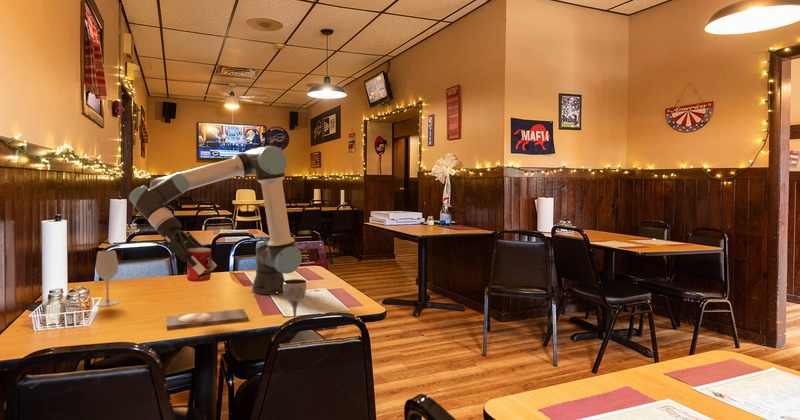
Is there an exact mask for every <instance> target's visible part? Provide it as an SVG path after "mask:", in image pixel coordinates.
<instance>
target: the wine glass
mask: <svg viewBox="0 0 800 420" xmlns="http://www.w3.org/2000/svg"><path fill="white" fill-rule="evenodd" d="M283 291H284V292H283V295H284V298H285V300H286V301H287V302H288V303H289V304H290V306H291V307H292V312H293V319H294V318H295V317H296V318H297V308H298V306H299V305H300V303H301V302H302V301H303V300H304V299H305V296H306V292H307V280H306V279H302V278H300V279H299V278H291V279H285V281H283Z"/></svg>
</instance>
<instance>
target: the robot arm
mask: <svg viewBox="0 0 800 420" xmlns="http://www.w3.org/2000/svg"><path fill="white" fill-rule="evenodd" d="M287 166H288V158H287V155H286V153H285V152H284V151H283V149H281V148H279V147H278V146H274V145H266V146H260V147H259V146H257V147H253V148H252V149H248V150H246V151H244V152H241V153H238V154H234V155H233V157H232V158H228V159H224V160H221V161H218V162H217V161H216V162H214V163H209V164H206V165H203V166H199V167H198V166H197V167H195V168H192V169H187V170H185V171H181V172H180V171H179V172H176V173H173V174H169V175H166V176H162V177H161V176H160V177H156V178H154V179H152V180H151V181H150V184H149V187H148V186H147V185H141V186H138V187H136V188H134V189H133V190H132V191H131V192H130V193H129V195H128V200H129V201H130V203H131V204H132V205H133V206H134V208H135V209H136V210H137V211H138V212H139V213H140V214H141V215H142V217H144V218H145V220H147V222H148V223H149V224H150V226H151V227H153V228H154V229H155V230H156V232H157V233H158V234H159V235H160V236H161V237H162V238H163V241H164V242H165V243H166V244H167V245H168V246H169V247H170V249H171V250H172V251H173V253H174V254H175V255H176V256H177V257H178V259H179V260H180V261H182V262H183V264H184V263H187V262H188V263H189V264H190V265H191V266H192V268H193V269H194V270H195V271H196V272H197V273H198V274H199V275H201V274H202V273H203V272H204V271H205V270H206V269H205V268H204V267H203V266H202V265H201V264H200V263H199V261H198V260H197V259H196V258H195V257H194V256H192V257H191V255H190V253H189V251H188V249H190V248H205V246H204V245H202V243H200V242H199V241H198V240H197V239H196V238H195V237H194V236H193V235H192V233H191V231H186V232H184V231H183V230H182V229H181V227H182V224H181V221H179V220H178V219H177V217H174V214H173V213H172V212H171V211H170V210H169V209H168V208H167V207H166V206H165V205H167V204H168V203H170V202H171V201H173V200H175V199H176V198H178V197H179V196H181V195H183V194H185V192H187V191H189V190H193V189H196V188H200V187H203V186H206V185H210V184H213V183H216V182H219V181H223V180H227V179H230V178H233V177H238V176H239V177H240V178H241V177H245V176H250V175H252V176H253V175H254V176H255V177H256V181H257V182H258V183H259V184H260V185H261V192H262V197H263V203H264V209H265V210H264V211H265V215H266V217H265V218H266V223H267V228H268V229H267V230H268V235H269V240H261V241H258V242H256V246H255V277H254V279H253V283H252V285H251V292H252V293H253V292H254V294H257V293H259V294H258V295H269V294H268V293H276V292H282V291H283V281H285V280H286V279H285V277H284V274H285V275H286V274H292V273H293V272H295V271H296V270H298V268H299V266H300V265H301V263H302V253H301V250H299V249H298V248H297V246H296V242H295V238H294V237H292V236H291V233H290V225H289V218H288V212H287V206H286V205H287V204H286V198H285V192H284V185H283V180H284V179H285V177H286V175H285V174H286V173H285V170H286V168H287ZM217 266H218V265H217V264H216V263H215V262H214V261H213V259H211V271H213V270H214V269H215V268H216V267H217ZM282 293H283V292H282Z"/></svg>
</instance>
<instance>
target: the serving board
mask: <svg viewBox="0 0 800 420" xmlns="http://www.w3.org/2000/svg"><path fill="white" fill-rule="evenodd" d="M246 320H248V321H249V316H248V314H247V313H246V311H245V309H244V308H242V309H232V310H231V309H230V310H222V311H221V310H219V311H211V312H198V313H197V312H196V313H189V314H181V315H180V314H179V315H171V316H170V315H169V316H166V330H174V329H176V330H177V329H184V328H192V327H194V328H195V327H203V326H211V325H219V324H220V325H221V324H222V325H223V324H230V323H238V322H239V321H240V322H247V321H246Z"/></svg>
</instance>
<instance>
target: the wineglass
mask: <svg viewBox="0 0 800 420" xmlns="http://www.w3.org/2000/svg"><path fill="white" fill-rule="evenodd" d="M117 256H118V255H117V252H116V250H111V249H110V250H109V249H108V250H99V251H97V254H96V260H95V273H96V274H97V276H98V277H99V279H100V278H101V279H102V280H103V281H105V288H106V290H105V291H106V294H105V295H106V299H105V300H104V301H102V302H99V306H98V307H110V306H115V304H116V305H117V304H119V301H116V300H110V298H109V297H110V296H109V295H110V294H109V292H110V291H109V283H110V280H112V279H113V278H114V277H115V276H116V275H117V274H118V271H119V262H118V257H117Z"/></svg>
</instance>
